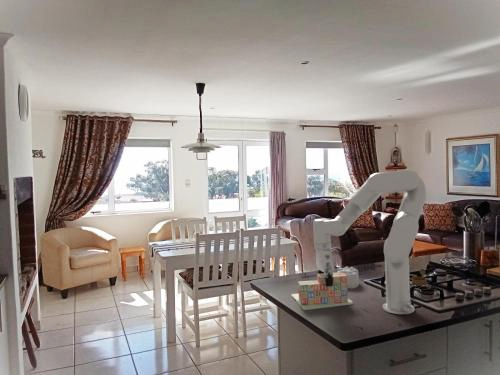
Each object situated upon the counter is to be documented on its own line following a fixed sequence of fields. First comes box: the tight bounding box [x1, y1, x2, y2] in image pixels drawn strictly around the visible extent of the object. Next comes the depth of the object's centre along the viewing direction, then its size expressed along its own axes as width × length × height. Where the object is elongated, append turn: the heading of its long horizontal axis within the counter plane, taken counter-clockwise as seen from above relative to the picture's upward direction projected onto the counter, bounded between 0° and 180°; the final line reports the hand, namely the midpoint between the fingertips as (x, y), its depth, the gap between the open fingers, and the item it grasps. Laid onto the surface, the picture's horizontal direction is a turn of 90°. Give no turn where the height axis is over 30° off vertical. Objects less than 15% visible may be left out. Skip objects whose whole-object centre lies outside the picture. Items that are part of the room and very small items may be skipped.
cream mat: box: [290, 293, 299, 303], centre depth 182 cm, size 9×23×1 cm, turn 101°
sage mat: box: [297, 298, 354, 311], centre depth 172 cm, size 9×23×1 cm, turn 101°
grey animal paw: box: [336, 266, 360, 289], centre depth 199 cm, size 10×13×9 cm
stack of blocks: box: [297, 272, 349, 305], centre depth 172 cm, size 21×6×12 cm, turn 92°
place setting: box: [411, 268, 428, 286], centre depth 191 cm, size 18×20×6 cm
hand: (325, 283), depth 171 cm, fingers open, 9 cm apart
